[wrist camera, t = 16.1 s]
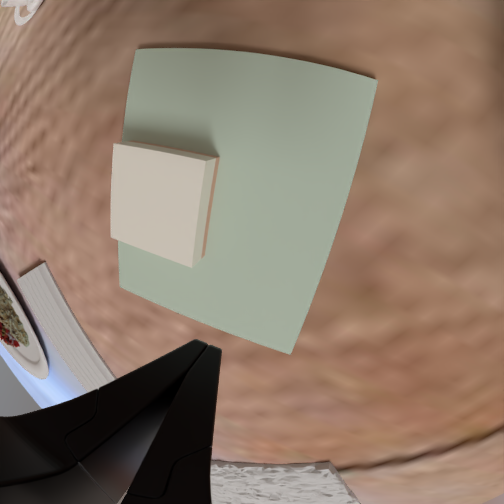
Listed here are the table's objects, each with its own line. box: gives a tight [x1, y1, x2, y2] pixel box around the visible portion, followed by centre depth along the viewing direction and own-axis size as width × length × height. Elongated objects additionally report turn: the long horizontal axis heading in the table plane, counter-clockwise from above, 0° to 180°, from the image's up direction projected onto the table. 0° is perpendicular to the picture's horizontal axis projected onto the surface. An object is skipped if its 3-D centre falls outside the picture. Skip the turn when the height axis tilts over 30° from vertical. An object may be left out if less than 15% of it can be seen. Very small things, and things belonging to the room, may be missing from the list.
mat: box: [118, 48, 378, 355], centre depth 19 cm, size 16×20×1 cm
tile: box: [111, 140, 220, 268], centre depth 19 cm, size 2×7×7 cm
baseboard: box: [17, 262, 117, 392], centre depth 34 cm, size 31×3×12 cm
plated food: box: [0, 272, 49, 379], centre depth 41 cm, size 30×30×3 cm
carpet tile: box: [210, 460, 361, 504], centre depth 40 cm, size 39×30×2 cm
